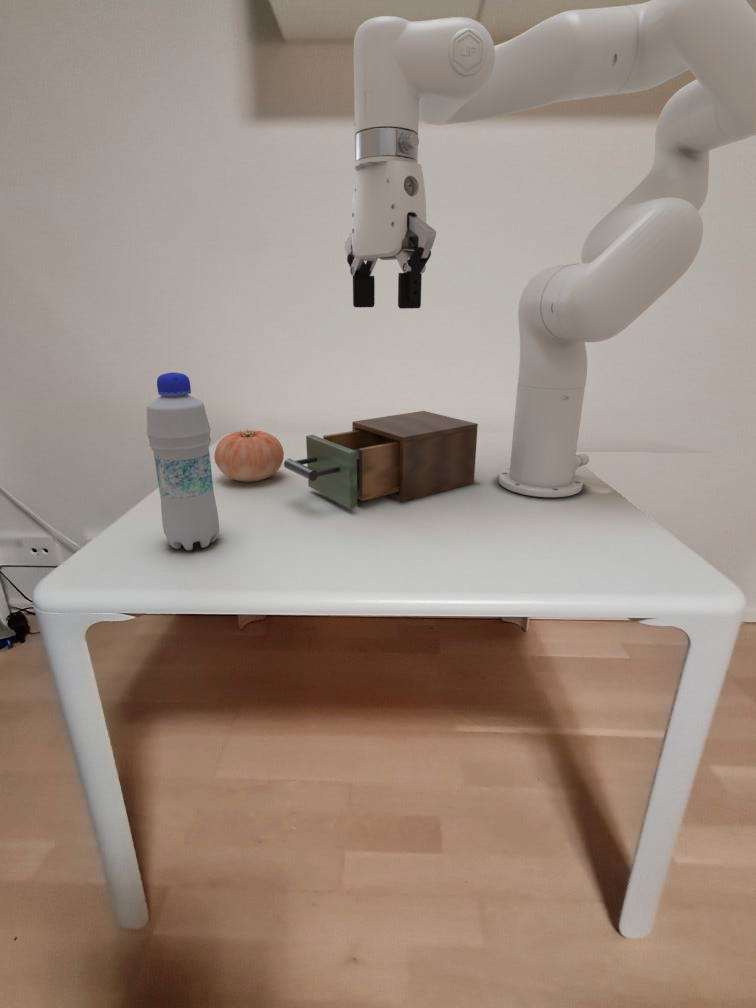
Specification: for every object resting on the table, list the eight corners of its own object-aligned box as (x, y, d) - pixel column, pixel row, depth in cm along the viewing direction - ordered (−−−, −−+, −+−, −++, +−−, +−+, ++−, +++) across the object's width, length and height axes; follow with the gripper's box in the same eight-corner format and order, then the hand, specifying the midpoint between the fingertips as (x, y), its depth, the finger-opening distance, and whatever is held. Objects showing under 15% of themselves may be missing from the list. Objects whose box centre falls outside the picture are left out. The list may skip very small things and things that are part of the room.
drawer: (318, 516, 71) (316, 458, 68) (278, 492, 79) (275, 440, 76) (425, 488, 81) (427, 437, 78) (379, 470, 89) (380, 423, 87)
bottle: (201, 526, 70) (182, 367, 63) (234, 540, 66) (216, 372, 59) (152, 544, 65) (125, 373, 58) (184, 560, 61) (159, 378, 54)
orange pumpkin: (266, 492, 82) (262, 440, 79) (203, 485, 85) (197, 435, 82) (295, 471, 92) (293, 425, 89) (238, 466, 95) (234, 421, 92)
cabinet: (402, 502, 78) (403, 437, 75) (353, 480, 87) (352, 421, 84) (473, 483, 86) (477, 423, 83) (421, 464, 96) (423, 410, 92)
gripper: (460, 144, 60) (452, 308, 66) (369, 171, 73) (370, 306, 79) (408, 133, 56) (405, 309, 62) (321, 164, 69) (326, 307, 75)
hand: (385, 307), depth 71 cm, fingers open, 9 cm apart
